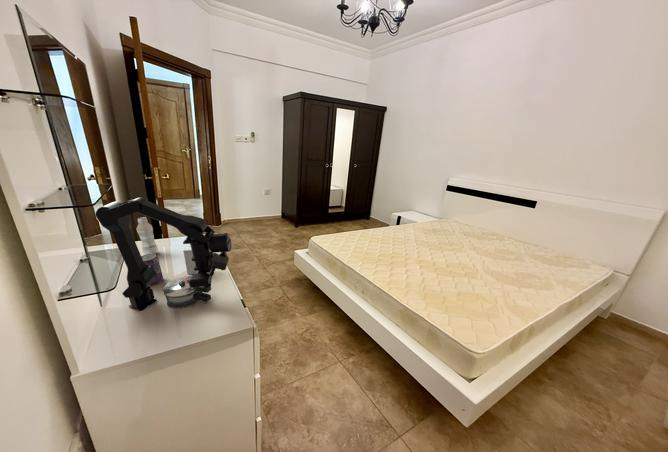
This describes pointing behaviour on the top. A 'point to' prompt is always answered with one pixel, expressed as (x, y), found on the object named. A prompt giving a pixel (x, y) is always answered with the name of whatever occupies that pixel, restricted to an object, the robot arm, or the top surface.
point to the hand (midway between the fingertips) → (209, 286)
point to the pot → (187, 300)
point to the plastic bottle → (146, 236)
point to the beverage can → (153, 260)
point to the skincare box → (189, 260)
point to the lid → (182, 288)
